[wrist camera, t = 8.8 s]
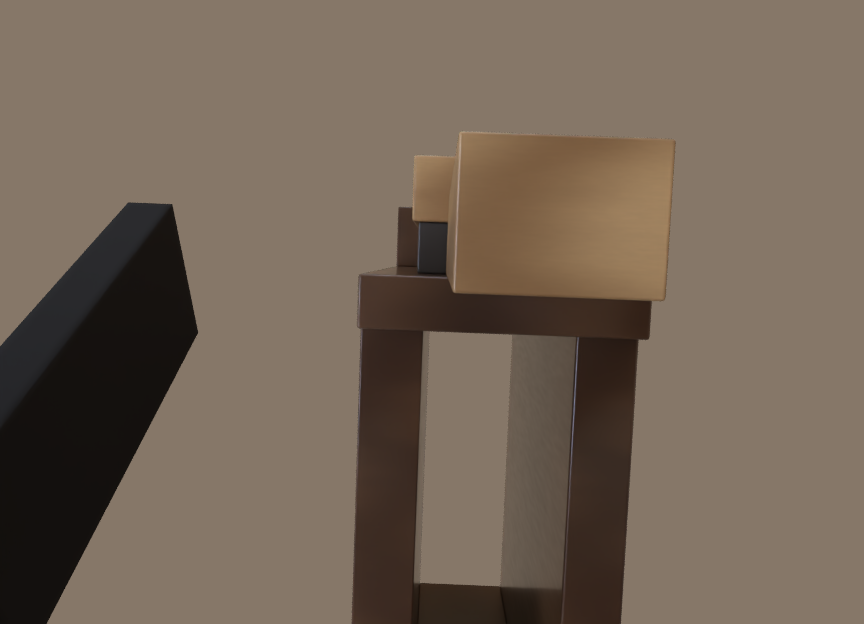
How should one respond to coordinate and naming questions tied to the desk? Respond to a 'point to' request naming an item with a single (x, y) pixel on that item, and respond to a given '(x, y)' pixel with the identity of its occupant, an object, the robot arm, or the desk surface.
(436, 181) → the tan block
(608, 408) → the shelf
